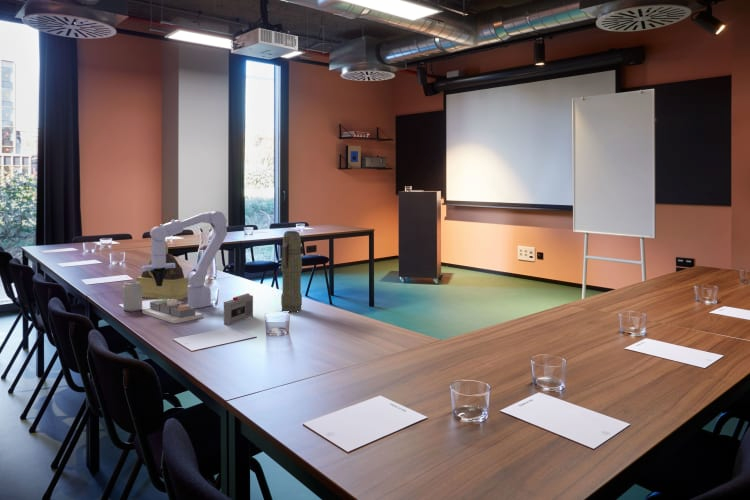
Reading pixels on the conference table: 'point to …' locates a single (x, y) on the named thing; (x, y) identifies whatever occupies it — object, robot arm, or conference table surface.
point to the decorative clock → (165, 282)
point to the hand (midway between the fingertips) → (159, 285)
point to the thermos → (291, 272)
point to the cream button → (172, 302)
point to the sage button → (161, 301)
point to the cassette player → (238, 309)
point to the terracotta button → (182, 307)
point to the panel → (171, 312)
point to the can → (132, 296)
